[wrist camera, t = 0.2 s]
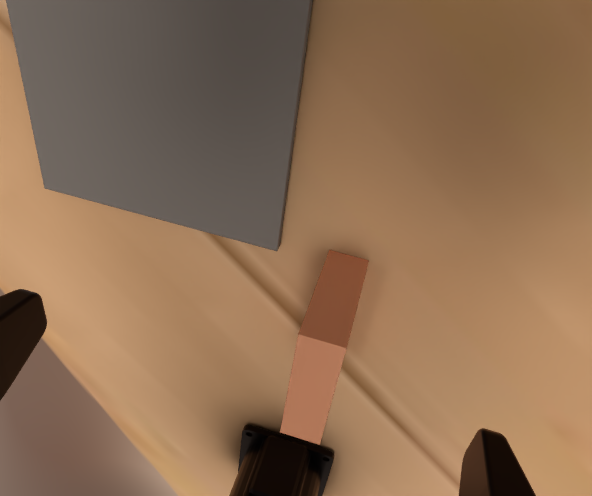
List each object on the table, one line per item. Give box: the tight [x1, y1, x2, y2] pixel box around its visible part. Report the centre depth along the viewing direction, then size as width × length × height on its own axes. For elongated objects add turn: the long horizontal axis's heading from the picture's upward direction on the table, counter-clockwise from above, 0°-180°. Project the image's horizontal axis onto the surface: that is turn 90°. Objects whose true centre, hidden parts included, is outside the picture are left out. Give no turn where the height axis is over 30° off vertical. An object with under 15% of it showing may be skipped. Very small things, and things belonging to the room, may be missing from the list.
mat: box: [6, 0, 313, 251], centre depth 23 cm, size 12×13×1 cm
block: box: [280, 250, 369, 445], centre depth 25 cm, size 7×2×6 cm, turn 173°
